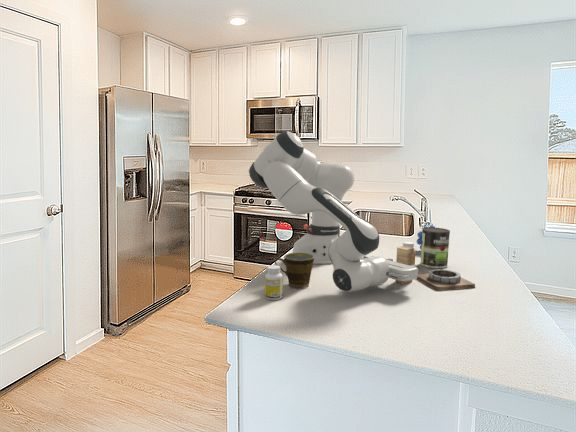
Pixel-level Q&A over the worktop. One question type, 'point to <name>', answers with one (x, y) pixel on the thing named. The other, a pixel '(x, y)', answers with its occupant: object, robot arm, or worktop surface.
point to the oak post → (405, 258)
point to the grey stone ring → (437, 277)
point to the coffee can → (435, 247)
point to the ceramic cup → (298, 268)
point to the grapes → (419, 240)
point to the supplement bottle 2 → (410, 244)
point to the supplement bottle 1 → (273, 283)
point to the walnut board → (441, 286)
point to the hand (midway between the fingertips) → (402, 263)
